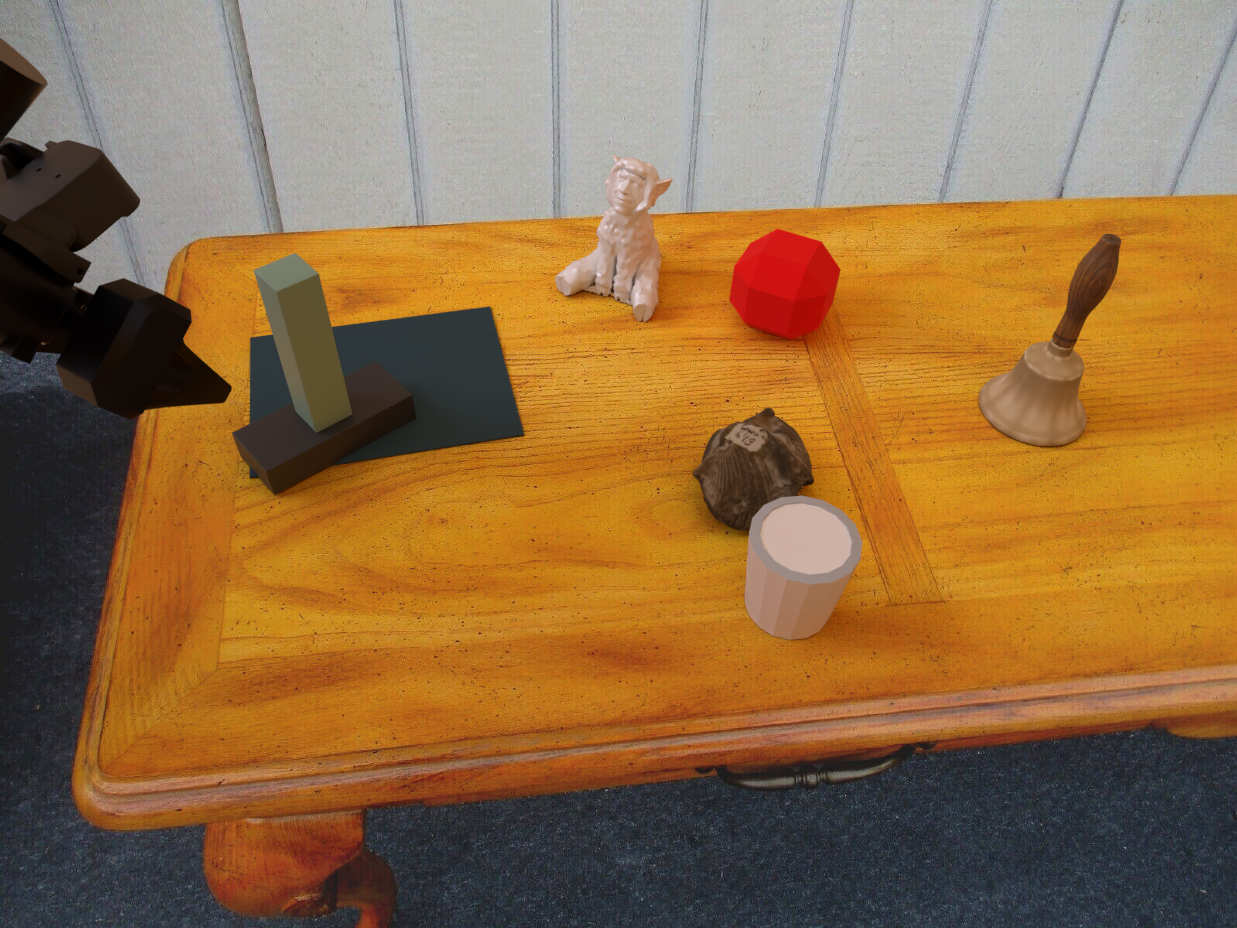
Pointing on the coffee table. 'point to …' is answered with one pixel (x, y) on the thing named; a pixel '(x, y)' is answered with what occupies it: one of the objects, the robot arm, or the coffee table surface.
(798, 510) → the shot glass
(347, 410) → the wiper
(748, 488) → the fossilized seashell
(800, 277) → the ball
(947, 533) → the coffee table surface
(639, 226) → the white creature statuette
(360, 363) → the cloth mat
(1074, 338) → the hand bell
